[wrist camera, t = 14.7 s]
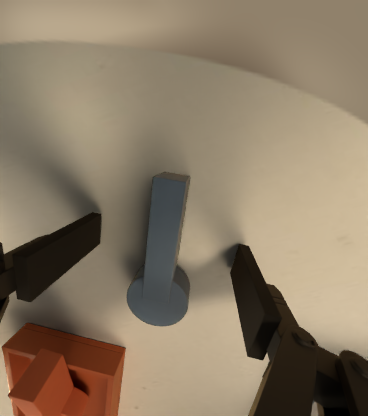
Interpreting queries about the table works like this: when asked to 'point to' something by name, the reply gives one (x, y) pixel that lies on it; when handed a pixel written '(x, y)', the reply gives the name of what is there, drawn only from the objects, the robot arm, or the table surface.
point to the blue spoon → (163, 256)
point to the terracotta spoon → (48, 388)
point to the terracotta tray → (70, 365)
